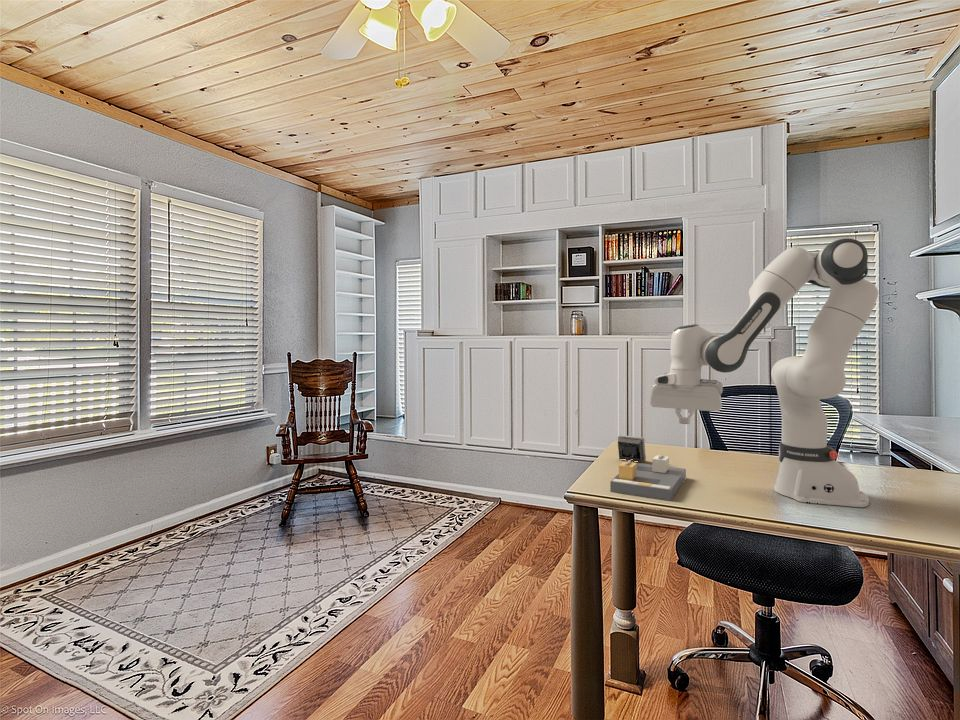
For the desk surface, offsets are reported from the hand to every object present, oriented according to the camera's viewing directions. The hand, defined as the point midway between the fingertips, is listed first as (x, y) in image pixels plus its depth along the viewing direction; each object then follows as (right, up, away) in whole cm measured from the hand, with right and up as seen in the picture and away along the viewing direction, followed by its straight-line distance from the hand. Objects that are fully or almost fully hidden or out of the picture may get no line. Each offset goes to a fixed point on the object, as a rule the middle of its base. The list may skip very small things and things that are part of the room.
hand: (684, 423), depth 160 cm
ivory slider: (-6, -15, +5) cm, 17 cm away
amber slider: (-18, -16, -2) cm, 24 cm away
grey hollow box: (-8, -17, +28) cm, 34 cm away
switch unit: (-10, -19, +1) cm, 21 cm away
